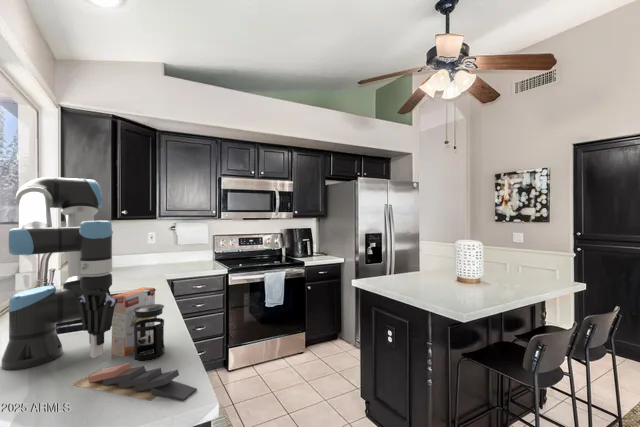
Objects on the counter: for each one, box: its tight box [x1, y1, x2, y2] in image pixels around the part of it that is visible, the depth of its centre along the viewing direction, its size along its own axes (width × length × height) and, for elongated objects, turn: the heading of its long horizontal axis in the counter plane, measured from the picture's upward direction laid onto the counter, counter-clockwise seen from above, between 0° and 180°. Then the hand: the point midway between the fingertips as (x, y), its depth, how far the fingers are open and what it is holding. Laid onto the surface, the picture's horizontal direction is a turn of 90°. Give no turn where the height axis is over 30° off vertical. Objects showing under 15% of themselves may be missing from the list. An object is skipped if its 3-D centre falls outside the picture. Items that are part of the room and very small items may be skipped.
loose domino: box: [88, 362, 132, 383], centre depth 89 cm, size 2×5×10 cm
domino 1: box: [102, 365, 147, 386], centre depth 88 cm, size 2×5×10 cm
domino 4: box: [151, 379, 198, 402], centre depth 83 cm, size 2×5×10 cm
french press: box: [133, 288, 165, 363], centre depth 105 cm, size 12×9×23 cm
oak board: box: [70, 368, 158, 402], centre depth 88 cm, size 28×9×1 cm, turn 73°
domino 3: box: [135, 369, 180, 392], centre depth 84 cm, size 2×5×10 cm
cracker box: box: [111, 286, 156, 357], centre depth 112 cm, size 14×6×21 cm, turn 168°
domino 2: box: [118, 367, 163, 389], centre depth 86 cm, size 2×5×10 cm
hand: (96, 355), depth 91 cm, fingers closed
